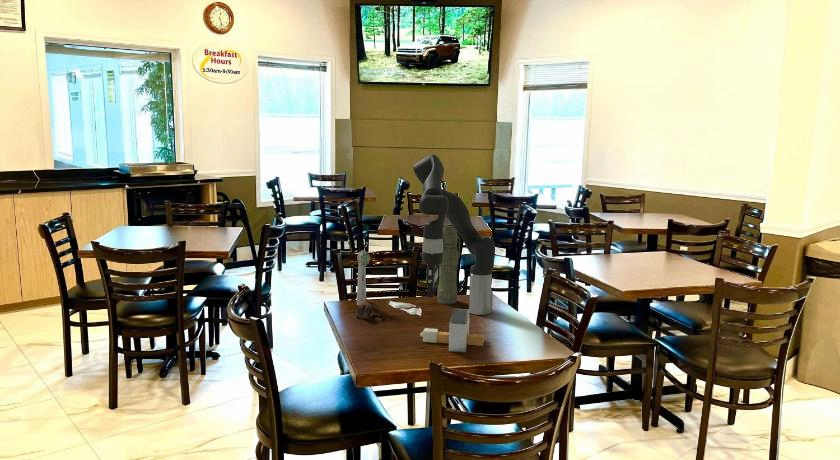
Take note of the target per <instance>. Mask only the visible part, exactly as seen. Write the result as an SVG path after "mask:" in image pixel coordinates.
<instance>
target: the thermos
mask: <svg viewBox="0 0 840 460" xmlns="http://www.w3.org/2000/svg"><path fill="white" fill-rule="evenodd" d="M460 256H461V236H460V235H459V233H458V232H457V231H456V229H455V228H454V227H453V225H443V263H442V264H440V265H438V266H439V268H438V277H439V278H438V286H437V303H439V304H441V305H454V304H457V298H458V286H457V276H458V275H457V273H458V272H457V271H458V266H459V259H460Z"/></svg>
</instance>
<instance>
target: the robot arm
mask: <svg viewBox="0 0 840 460" xmlns="http://www.w3.org/2000/svg"><path fill="white" fill-rule="evenodd" d="M412 169H413V172H414V175H415V176H416V178H417V179H418V181H419V182H420V183H421V185H423V186H422V195H421V197H420V199H419V202H418V208H419V212H420V213H422V214H423V215H426V216H437V218H436V219H434V220H430V221H429V220H428V221H426V222H424V224H423V238H422V254H421V256H422V257H421V263H422V264H424V265H426V266H427V265H428V266H427V267H426V269H425V270H426V271H425V272H426V278H425V280H426V281H425V282H426V283H425V286H426V290H427V291H426V296H427V298H432V299H433V298H434V293H435V292H436V291H437V281H438V279H439V278H438V277H439V268H438V266H439V265H440V264H442V263H443V227H444V226H445V220H446V218H447V220H448V221H449V223H450V224H451V226H453V227H454V228H455V229H456V231H457V233H458V236H459V237H460V239H461V240H462V242H463V243H464V245H465V247H466V249H467V250H468V252H469V253H470V254H471V255H472V256H474V257H475V263H474V264H473V265H471V266H470V267H469V268H470V269H469V272H470V273H469V297H468V298H469V299H468V300H469V301H468V309H469V310H470V314H472V315H478V316H479V315H480V316H486V315H489V314H491V313H493V303H494V302H493V299H494V297H493V296H494V291H493V290H492V279H493V277H492V275H493V274H492V273H493V269H494V266H495V259H496V256H495V255H496V245H495V241H494V240H493V239H492V238H491V237H488V236H485V235H481V234H480V233H479V231H478V230H477V229H476V228H475V227H474V225H473V223H472V220H471V214H470V211H469V209H468V207H467V206H466V203H464V202H463V199H462V198H461V197H460V196H458V195H457V194H455V193H454V192H451V191H448V190H445V189H444V188H442V184H443V183H442V182H443V178H444V173H445V169H444V165H443V163H442V161H441V159H440V158H439V157H438V156H437V155H436V154H430V155H427V156H425V157H423V159H421V160H419V161H418V162H416V163H414V164H413V166H412Z"/></svg>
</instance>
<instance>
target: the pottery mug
mask: <svg viewBox="0 0 840 460" xmlns="http://www.w3.org/2000/svg"><path fill="white" fill-rule="evenodd" d="M380 308H381V305H379V304H378V303H376V302H374V301H372V300H370V299H368V298H367V299H365V301H363V302H361V303H360V304H359V306H357V309H356V313H355V316H356V317H357V318H359V319H361V320H363V318H365V319H367V318H368V319H369V318H370V316H371V314H372V312H373V310H375V311H377V312H378V314H377V316H378V317H380V314H381V309H380Z"/></svg>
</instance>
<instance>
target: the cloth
mask: <svg viewBox="0 0 840 460" xmlns="http://www.w3.org/2000/svg"><path fill="white" fill-rule="evenodd" d="M388 305H389V306H391V307H393V308H395V309H399V310H402V311H405V312H406V313H408V314H409V315H418V316H419V317H421V316H422V310H423V309H421V307H420V306H419V308H416V307H417V306H416V305H414V304H411V303H405V302H397V301H392V300H389V303H388ZM407 308H409V309H407Z"/></svg>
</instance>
